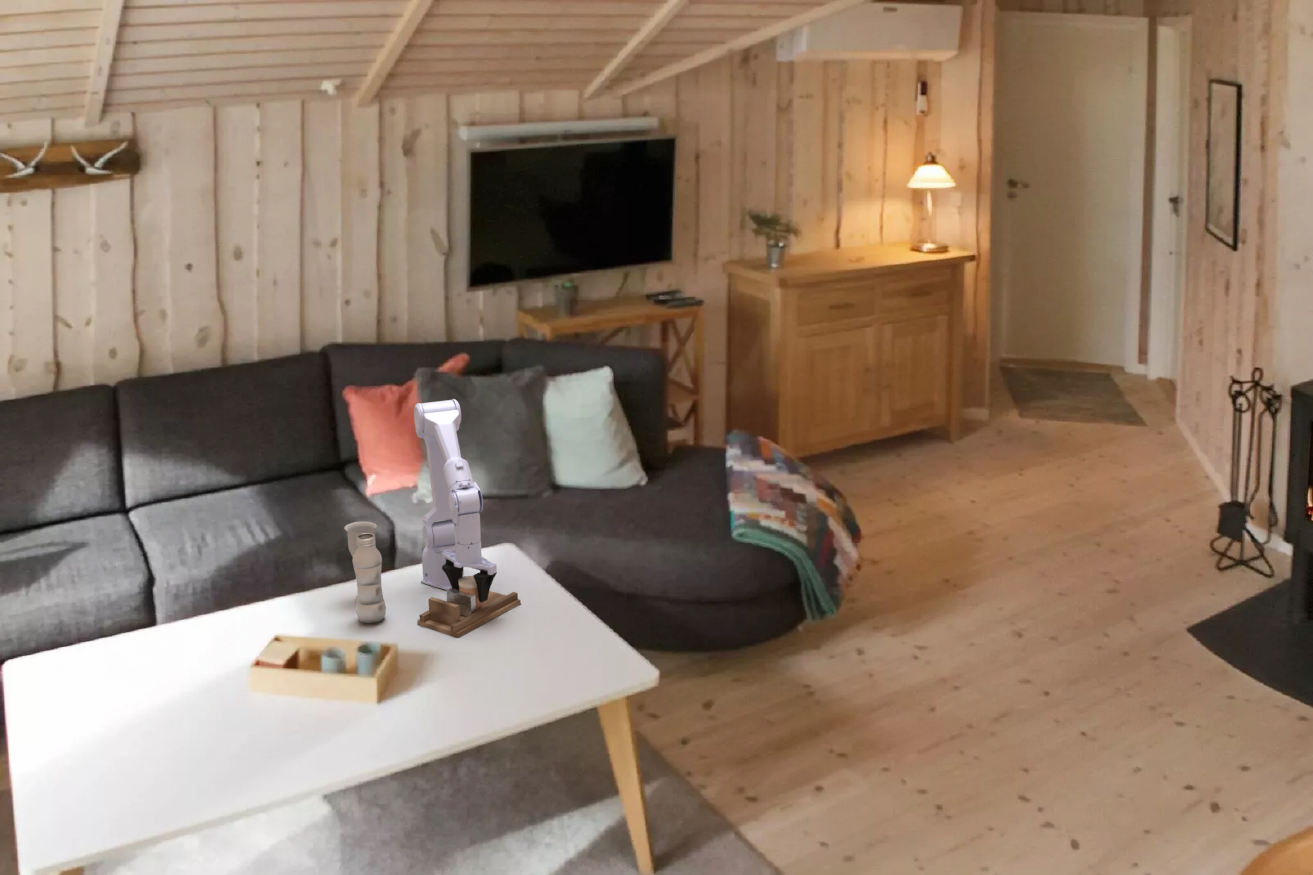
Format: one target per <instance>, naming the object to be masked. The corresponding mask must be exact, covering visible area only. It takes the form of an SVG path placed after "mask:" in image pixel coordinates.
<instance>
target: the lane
mask: <svg viewBox="0 0 1313 875" xmlns="http://www.w3.org/2000/svg"><path fill="white" fill-rule="evenodd" d="M427 600H428V610H426V611H424V612H422V613H420V614H419V619H417V621H416V622H417V625H418V626H421V627H424V628H427V629H429V630H433V631H437V632H440V633H441V634H445V635H448V636H452V637H454V638H458V639H459V638H461V637H463V636H464V635H466V634H468V633H469V632H471V631H474V630H475V629H477V628H479V627H480V626H483V625H484V624H487V623H488V622H490V621H491V620H494V619H495V618H497V617H499V616H501V615H503V614H504V613H506V612H508V611H510V610H512V609H515V608H516V607H518V606H520V605H521V604H522V603H521V599H519V597H518V592H516V591H513V592H510V593H509V594H506V595H505V594H503V593H498V592H495V591H492V590H489V595H488V600H486V601H484V602H483V608H482V609H480V610H478V611H476V612H474V613H473V614H471V615H469V616H467V617H466V616H463V615H460V608H459V605H457V604H454V603H450V602H447V600H444V599H440V598H438V597H434V596H431V597H429V598H428V599H427Z"/></svg>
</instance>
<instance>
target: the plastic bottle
mask: <svg viewBox="0 0 1313 875" xmlns="http://www.w3.org/2000/svg"><path fill="white" fill-rule="evenodd" d="M357 541H358V542H357V546H359V547H358V549H357V550H356V552H355V554H354V556H353V557H352V565H353V570H354V574H355V581H356V586H357V593H356V594H357V595H356V596H357V603H356V607H355V608H356V610H355V611H356V616H357V618H358V620H359V621H360V622H362V623H365V624H373V623H377V622H380V621H382V620H383V619H384V617H385V616H386V612H387V605H386V602H385V599H384V594H383V593H384V592H383V589H382V588H383V587H382V567H383V556H382V554H381V552H380V551H379V549H377V546H376V547H375V546H374V544H375V541H376V540H375V541H374V535H373V534H370V533H365V534H361V535H359V536H358V537H357Z"/></svg>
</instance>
